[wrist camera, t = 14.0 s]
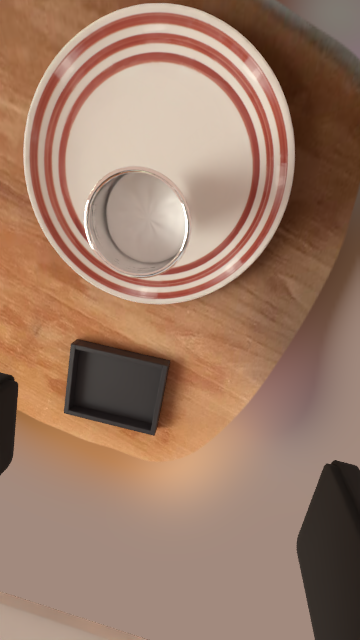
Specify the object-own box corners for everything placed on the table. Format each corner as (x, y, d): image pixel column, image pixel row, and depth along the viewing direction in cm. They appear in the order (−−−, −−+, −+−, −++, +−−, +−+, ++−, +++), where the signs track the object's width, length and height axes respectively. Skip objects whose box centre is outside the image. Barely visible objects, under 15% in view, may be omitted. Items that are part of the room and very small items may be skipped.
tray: (170, 360, 42) (167, 366, 40) (157, 427, 45) (154, 435, 43) (77, 339, 43) (70, 343, 41) (69, 406, 45) (63, 413, 44)
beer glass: (209, 178, 33) (208, 178, 19) (192, 248, 35) (180, 293, 22) (139, 160, 33) (86, 148, 19) (127, 232, 35) (74, 267, 22)
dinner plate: (324, 246, 36) (333, 247, 33) (103, 331, 42) (93, 339, 39) (234, -37, 31) (234, -68, 28) (-4, 106, 37) (-26, 94, 34)
